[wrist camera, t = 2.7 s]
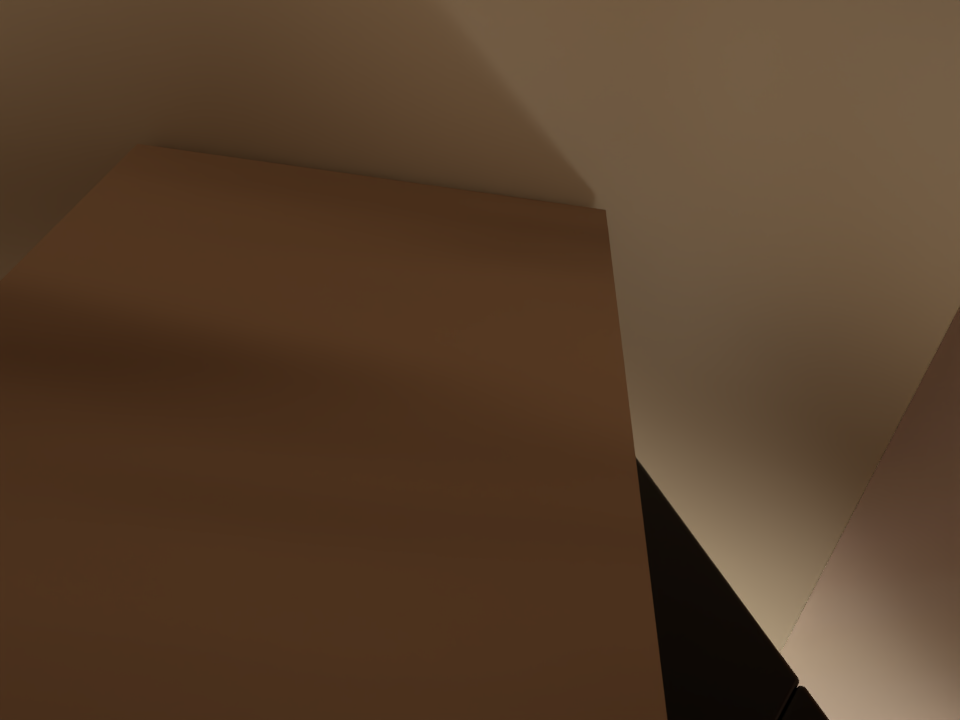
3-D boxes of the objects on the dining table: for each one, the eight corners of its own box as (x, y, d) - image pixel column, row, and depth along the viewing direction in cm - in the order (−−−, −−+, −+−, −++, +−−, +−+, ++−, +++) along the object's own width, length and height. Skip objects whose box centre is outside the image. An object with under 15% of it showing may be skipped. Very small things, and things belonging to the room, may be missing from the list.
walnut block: (532, 534, 11) (521, 1164, 6) (173, 487, 11) (-126, 1088, 6) (606, 209, 9) (683, 852, 4) (137, 143, 8) (-432, 711, 4)
